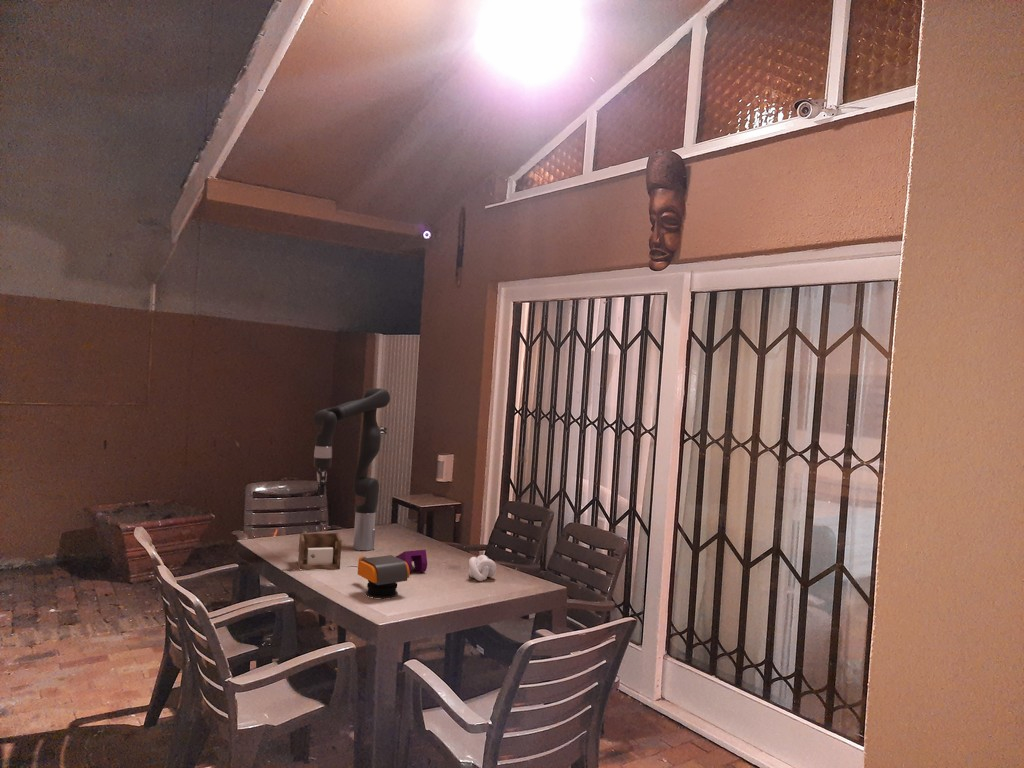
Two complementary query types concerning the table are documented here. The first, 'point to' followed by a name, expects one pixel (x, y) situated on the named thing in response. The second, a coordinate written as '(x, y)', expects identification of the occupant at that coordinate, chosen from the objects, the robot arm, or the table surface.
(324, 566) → the cabinet
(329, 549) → the door
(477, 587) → the table surface
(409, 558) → the mounting bracket
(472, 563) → the white knot
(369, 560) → the sander
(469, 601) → the table surface
